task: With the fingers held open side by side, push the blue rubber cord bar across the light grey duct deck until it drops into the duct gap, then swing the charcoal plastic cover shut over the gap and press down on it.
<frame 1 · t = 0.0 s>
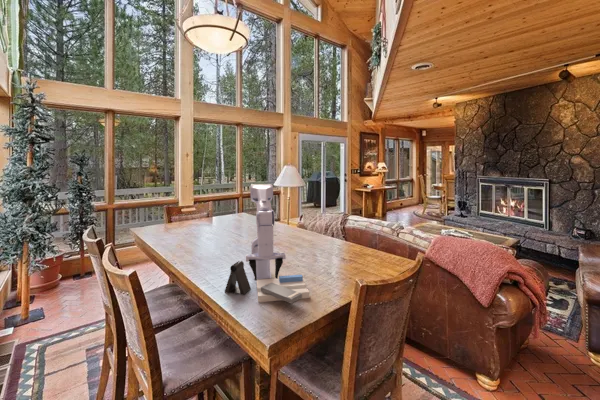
hand: (266, 278, 108), 10 cm above the table, fingers open, 7 cm apart
cover: (280, 291, 111), point 4 cm above the table, hinge at -50.0°
duct deck: (281, 291, 120), on the table
black folding stand: (237, 291, 121), on the table
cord: (290, 280, 125), point 2 cm above the table, touching duct deck
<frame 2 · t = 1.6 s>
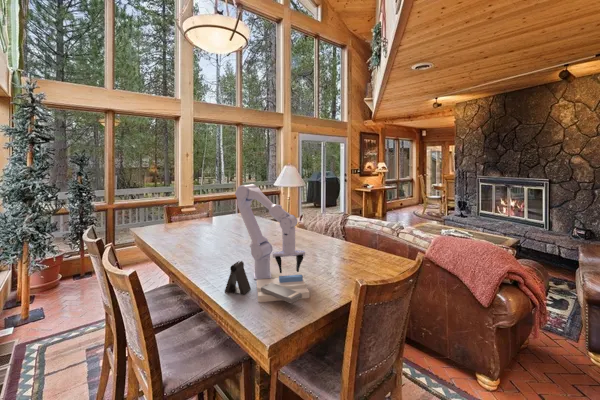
hand: (289, 271, 130), 4 cm above the table, fingers open, 7 cm apart
nothing on the table moved.
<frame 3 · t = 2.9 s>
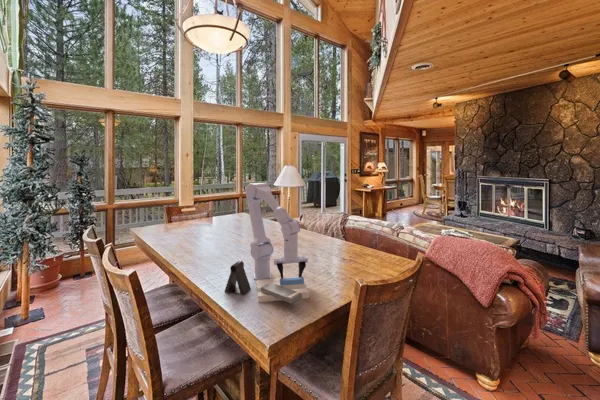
hand: (291, 279, 125), 3 cm above the table, fingers open, 7 cm apart
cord: (291, 283, 122), point 3 cm above the table, touching gripper
everything else where it was.
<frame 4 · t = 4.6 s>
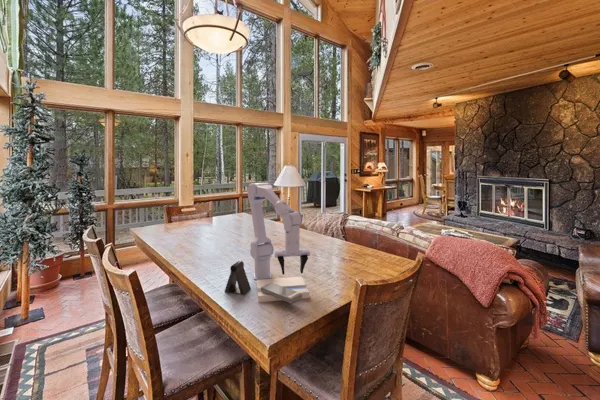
hand: (292, 273, 120), 8 cm above the table, fingers open, 7 cm apart
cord: (293, 290, 119), point 1 cm above the table, tilted 90°
everything else where it was.
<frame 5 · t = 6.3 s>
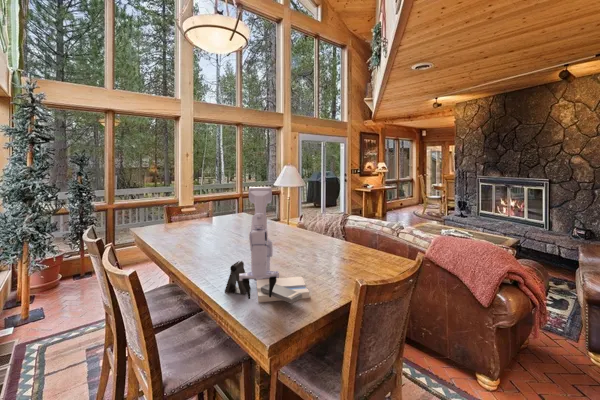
hand: (259, 297, 108), 3 cm above the table, fingers open, 7 cm apart
cover: (280, 291, 111), point 4 cm above the table, hinge at -50.0°, touching gripper
everything else where it was.
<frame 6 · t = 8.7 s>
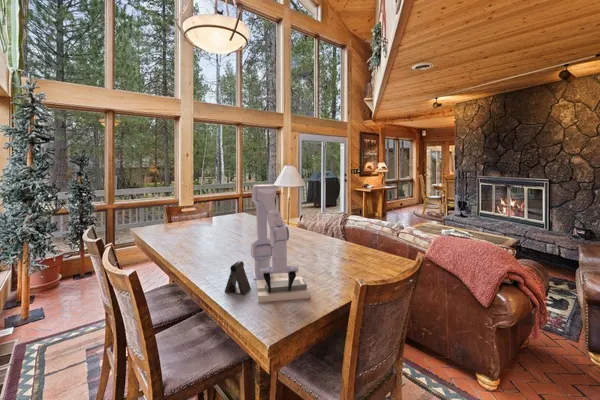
hand: (279, 291, 113), 3 cm above the table
cover: (285, 285, 118), point 4 cm above the table, hinge at 0.6°, touching gripper
everything else where it was.
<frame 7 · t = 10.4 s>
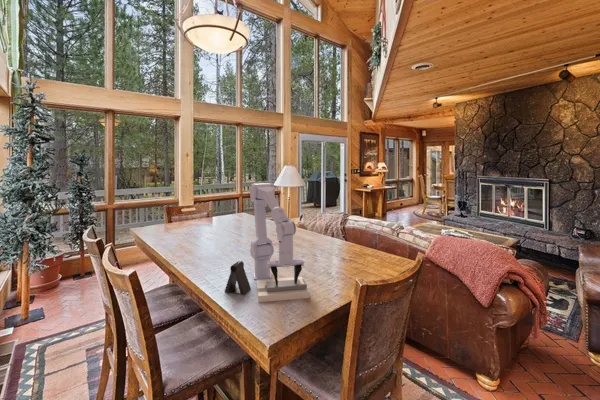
hand: (286, 283, 117), 4 cm above the table
cover: (285, 285, 118), point 4 cm above the table, hinge at 0.5°, touching gripper
everything else where it was.
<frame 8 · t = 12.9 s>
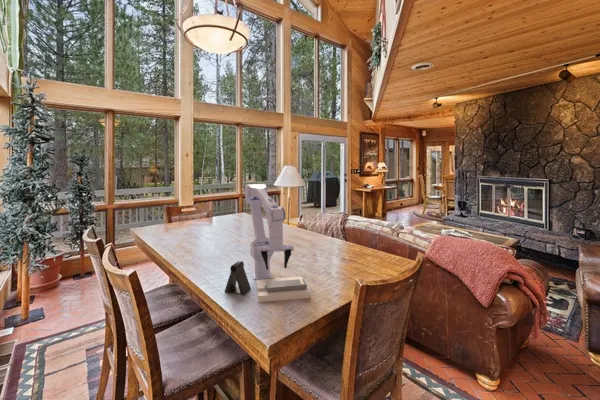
hand: (276, 268, 121), 9 cm above the table, fingers open, 7 cm apart
cover: (285, 285, 118), point 4 cm above the table, hinge at 0.4°
everything else where it was.
at the end: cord inside the target area on the duct deck (3.4 cm from its centre), point 0.9 cm above the duct deck's base; cover at +0° (first picture: -50°) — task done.
